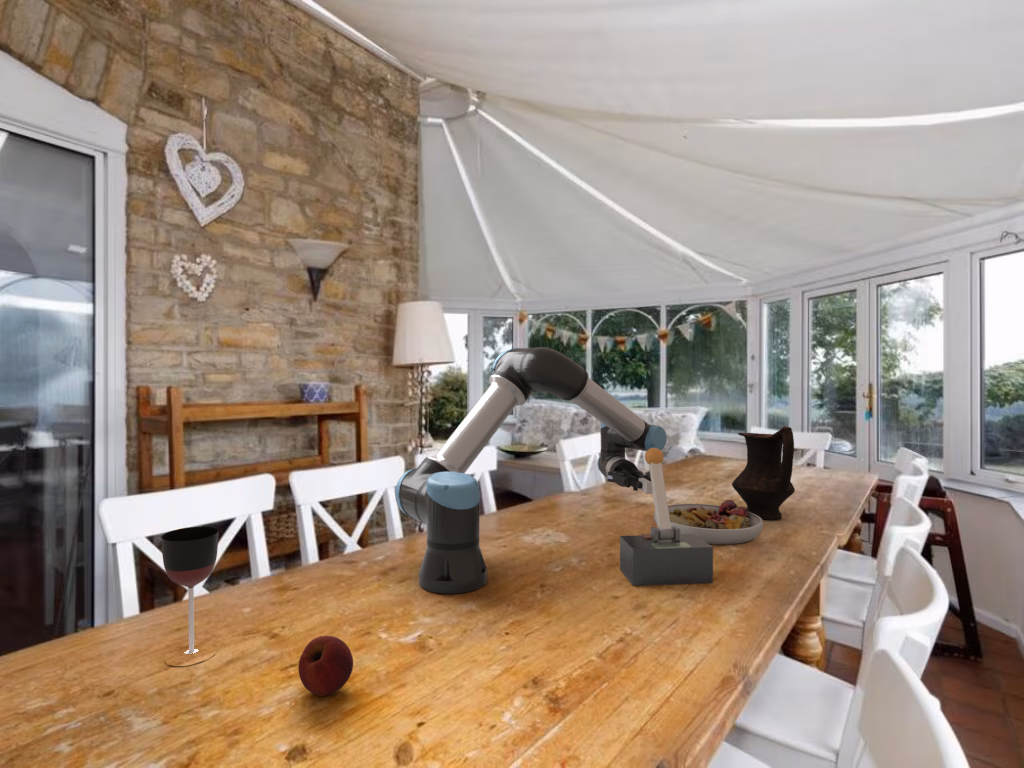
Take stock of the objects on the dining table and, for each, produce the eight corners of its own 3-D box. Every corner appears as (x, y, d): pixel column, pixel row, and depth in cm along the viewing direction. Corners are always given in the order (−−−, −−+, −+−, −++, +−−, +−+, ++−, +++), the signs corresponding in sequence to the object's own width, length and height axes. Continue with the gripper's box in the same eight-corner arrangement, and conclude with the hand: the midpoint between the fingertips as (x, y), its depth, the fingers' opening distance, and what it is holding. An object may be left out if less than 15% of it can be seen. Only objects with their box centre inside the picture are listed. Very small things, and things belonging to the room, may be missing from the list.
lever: (653, 541, 128) (641, 451, 136) (672, 540, 128) (658, 450, 137) (659, 538, 124) (646, 445, 132) (678, 537, 124) (664, 445, 133)
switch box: (620, 569, 131) (620, 523, 131) (694, 567, 132) (694, 521, 132) (632, 585, 121) (633, 535, 121) (712, 583, 123) (713, 533, 122)
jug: (719, 511, 186) (720, 422, 186) (764, 507, 192) (765, 420, 191) (765, 528, 166) (766, 428, 165) (814, 523, 171) (815, 426, 171)
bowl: (727, 556, 142) (727, 525, 142) (633, 530, 165) (633, 504, 165) (781, 534, 161) (782, 507, 161) (690, 514, 184) (690, 490, 184)
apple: (286, 695, 80) (286, 640, 80) (331, 671, 86) (331, 620, 86) (319, 713, 76) (319, 654, 75) (364, 686, 82) (363, 632, 82)
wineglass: (206, 638, 97) (205, 524, 97) (228, 654, 91) (227, 533, 91) (154, 655, 91) (153, 534, 90) (175, 674, 85) (173, 544, 85)
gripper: (643, 484, 162) (675, 502, 138) (599, 484, 161) (624, 503, 137) (643, 458, 162) (675, 472, 138) (600, 459, 160) (624, 473, 137)
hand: (649, 488), depth 138 cm, fingers closed
